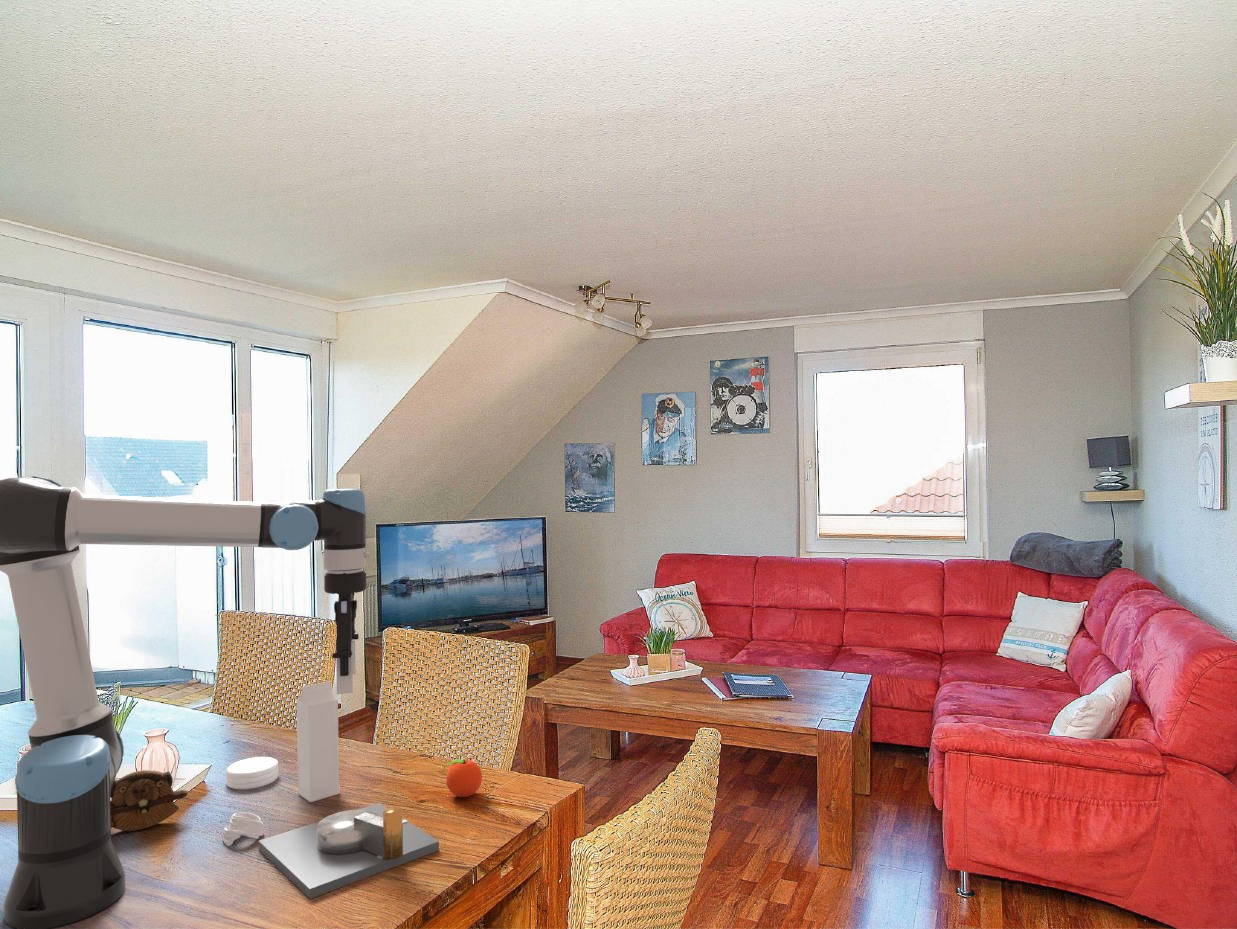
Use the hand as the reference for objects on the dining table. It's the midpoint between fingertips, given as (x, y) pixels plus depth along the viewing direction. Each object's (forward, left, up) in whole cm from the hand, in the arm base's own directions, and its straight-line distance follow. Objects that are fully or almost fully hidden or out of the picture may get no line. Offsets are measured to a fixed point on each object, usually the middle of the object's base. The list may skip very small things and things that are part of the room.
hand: (346, 683), depth 154 cm
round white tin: (-8, +29, -25) cm, 39 cm away
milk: (-1, +12, -25) cm, 27 cm away
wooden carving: (-31, +20, -25) cm, 44 cm away
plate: (-7, -15, -24) cm, 29 cm away
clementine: (+19, -9, -25) cm, 32 cm away
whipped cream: (-18, +3, -25) cm, 31 cm away
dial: (-6, -18, -23) cm, 30 cm away
